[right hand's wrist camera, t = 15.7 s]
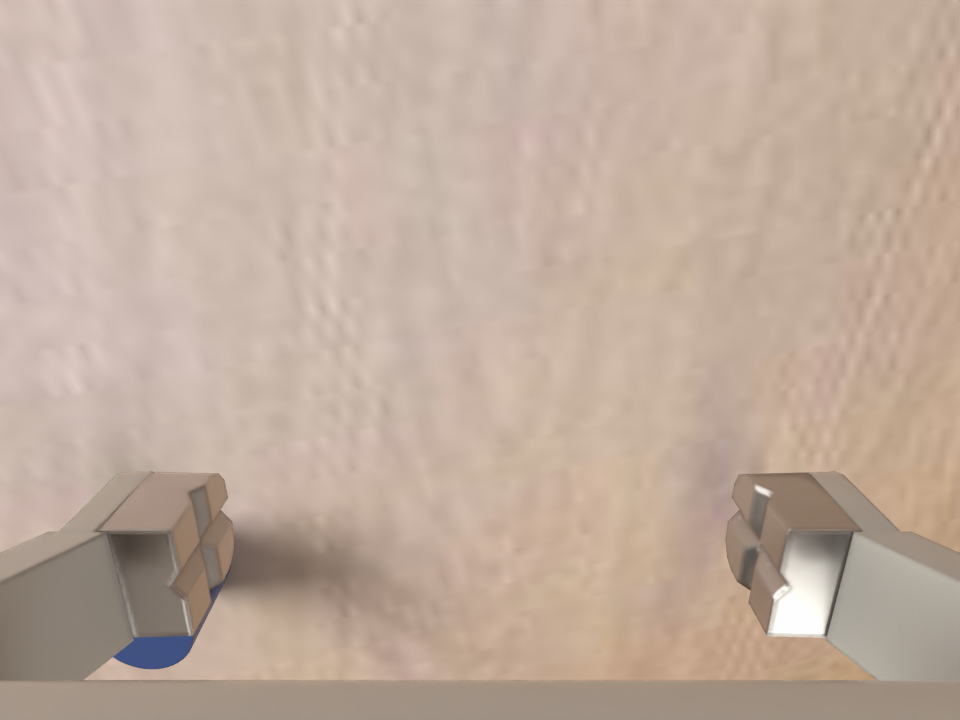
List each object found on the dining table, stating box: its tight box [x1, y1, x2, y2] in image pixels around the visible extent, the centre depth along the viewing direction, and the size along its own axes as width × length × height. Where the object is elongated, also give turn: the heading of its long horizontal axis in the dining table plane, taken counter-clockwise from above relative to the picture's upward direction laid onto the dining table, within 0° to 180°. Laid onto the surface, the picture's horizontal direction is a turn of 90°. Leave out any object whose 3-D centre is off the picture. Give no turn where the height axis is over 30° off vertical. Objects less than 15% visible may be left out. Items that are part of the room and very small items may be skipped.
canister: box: [113, 565, 231, 669], centre depth 28 cm, size 4×4×5 cm
